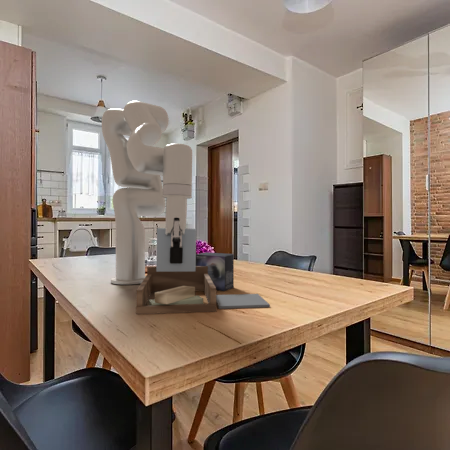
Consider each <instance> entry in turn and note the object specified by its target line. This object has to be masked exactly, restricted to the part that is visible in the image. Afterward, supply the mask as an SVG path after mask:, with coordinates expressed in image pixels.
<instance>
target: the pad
mask: <svg viewBox="0 0 450 450" xmlns="http://www.w3.org/2000/svg"><path fill="white" fill-rule="evenodd" d="M216 307H217V308H218V310H223V309H224V310H225V309H252V308H253V309H254V308H255V309H256V308H257V309H259V308H270V307H271V304H270V303H269V302H268V301H266V300H265V299H264V298H263V297H262V296H261V295H260V294H259V293H242V294H234V293H233V294H216Z"/></svg>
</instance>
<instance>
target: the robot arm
mask: <svg viewBox="0 0 450 450" xmlns="http://www.w3.org/2000/svg"><path fill="white" fill-rule="evenodd" d="M169 118H170V117H169V115H168V112H167V111H166V109H165V108H164V107H162V106H159V105H156V104H151V103H148V102H144V101H138V100H132V101H129V102H127V103H126V104H125V105H124V107H123V109H122V108H108V109H106V110H105V111H104V112H103V114H102V115H101V132H102V136H103V139H104V142H105V145H106V147H107V149H108V151H109V156H110V164H111V169H112V176H113V179H114V182H115V184H116V185H117V186H118V187H121V188H119V189H117V190H116V191H114V193H113V194H112V206H113V213H114V220H115V221H114V222H115V277H112V278H110V283H111V284H114V285H125V286H126V285H138V284H141V283H142V281H143V280H144V279H145V277H146V276H147V275H146V229H145V226H144V224H143V223H142V221H141V220H140V218H139V217H158V216H162V215H163V213H164V211H165V228H166V231H165V234H166V235H167V236H168V233H170V232H171V248H170V263H171V264H181V263H182V260H183V248H182V236H183V235H184V234H185V229H187V228H186V227H187V215H188V213H187V211H188V206H187V205H188V200H189V199H192V197H193V196H192V195H193V191H192V190H193V189H192V188H193V186H192V185H193V149H192V147H191V146H189V145H188V144H184V143H177V142H176V143H170V144H166V145H165V146H164V147H158V146H154V145H156V144H157V143H158V142H159V141H160V140H161V137H162V133H164V132H165V131H166V130H167V129H168V126H169ZM125 136H128V139H127V138H126V137H125ZM161 177H162V179H161ZM165 199H166V200H165ZM180 228H181V235H179V233H180ZM173 233H174V235H173Z"/></svg>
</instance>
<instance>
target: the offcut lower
mask: <svg viewBox="0 0 450 450" xmlns="http://www.w3.org/2000/svg"><path fill="white" fill-rule="evenodd" d="M179 304H204V298H203V297H201V296H200V295H195V296H193V297H190V298H187V299H183V300H180V301H177V302H173V303H170V304H161V303H155V298H154V299H148V305H179Z"/></svg>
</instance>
